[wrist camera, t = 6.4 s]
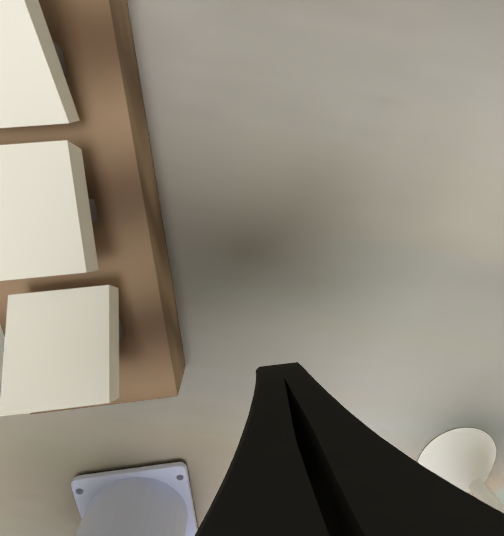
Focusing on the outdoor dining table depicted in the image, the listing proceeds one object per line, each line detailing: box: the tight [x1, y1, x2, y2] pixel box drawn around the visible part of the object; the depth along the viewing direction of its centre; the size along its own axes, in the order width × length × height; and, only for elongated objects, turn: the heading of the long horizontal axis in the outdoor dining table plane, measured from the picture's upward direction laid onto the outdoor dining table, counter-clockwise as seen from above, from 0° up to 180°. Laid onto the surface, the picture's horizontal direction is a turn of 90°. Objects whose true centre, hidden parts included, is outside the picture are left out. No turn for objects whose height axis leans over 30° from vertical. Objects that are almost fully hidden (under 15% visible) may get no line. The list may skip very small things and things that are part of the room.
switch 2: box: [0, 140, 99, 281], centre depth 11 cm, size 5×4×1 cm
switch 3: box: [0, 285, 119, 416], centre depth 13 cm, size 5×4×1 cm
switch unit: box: [0, 0, 186, 414], centre depth 14 cm, size 21×8×4 cm, turn 5°
